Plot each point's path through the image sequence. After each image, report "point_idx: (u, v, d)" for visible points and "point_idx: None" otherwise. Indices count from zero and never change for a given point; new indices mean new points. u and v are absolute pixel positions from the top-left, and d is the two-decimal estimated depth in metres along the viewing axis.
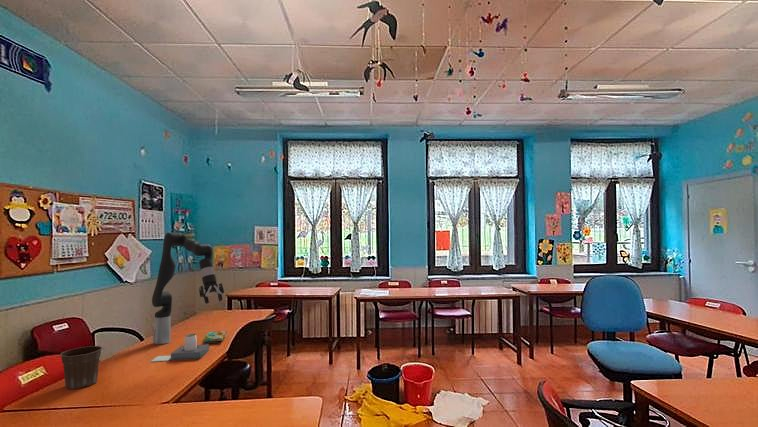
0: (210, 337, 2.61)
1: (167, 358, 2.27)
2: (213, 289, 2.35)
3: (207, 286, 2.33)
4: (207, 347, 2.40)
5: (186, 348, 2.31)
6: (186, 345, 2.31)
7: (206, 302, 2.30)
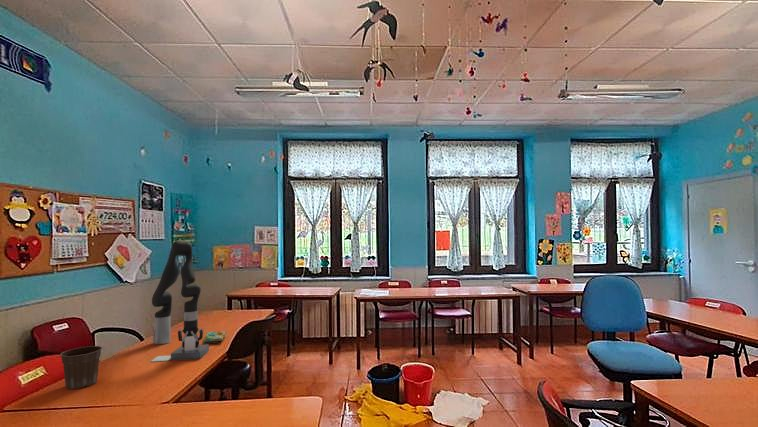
0: (210, 337, 2.61)
1: (167, 358, 2.27)
2: (190, 334, 2.33)
3: (185, 331, 2.33)
4: (207, 347, 2.40)
5: (186, 348, 2.31)
6: (186, 345, 2.31)
7: (183, 346, 2.34)
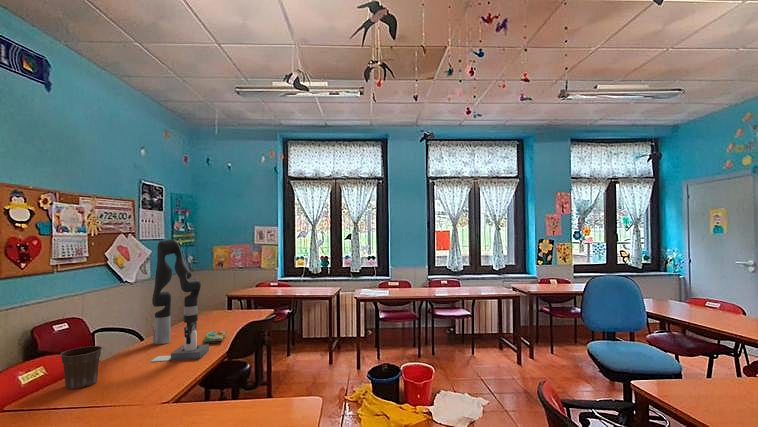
0: (210, 337, 2.61)
1: (167, 358, 2.27)
2: (192, 328, 2.35)
3: (190, 326, 2.32)
4: (207, 347, 2.40)
5: (194, 341, 2.33)
6: (194, 339, 2.33)
7: (188, 343, 2.30)
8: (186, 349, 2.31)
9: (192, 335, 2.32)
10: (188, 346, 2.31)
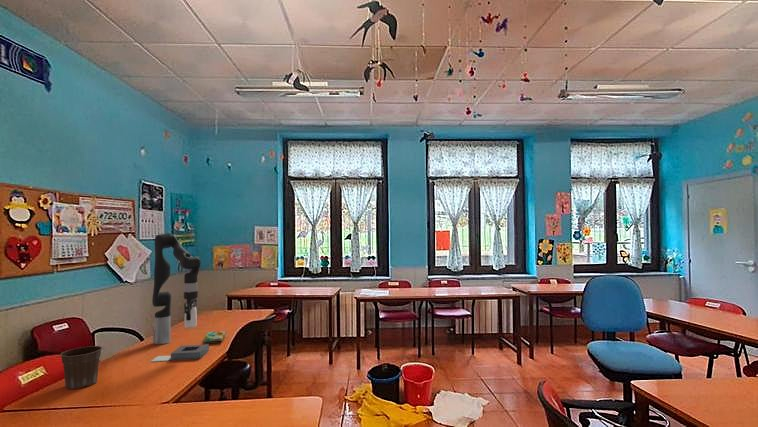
0: (210, 337, 2.60)
1: (167, 358, 2.27)
2: (192, 305, 2.36)
3: (191, 302, 2.33)
4: (207, 347, 2.40)
5: (194, 318, 2.34)
6: (194, 315, 2.34)
7: (188, 319, 2.31)
8: (186, 325, 2.32)
9: (192, 312, 2.33)
10: (188, 322, 2.31)
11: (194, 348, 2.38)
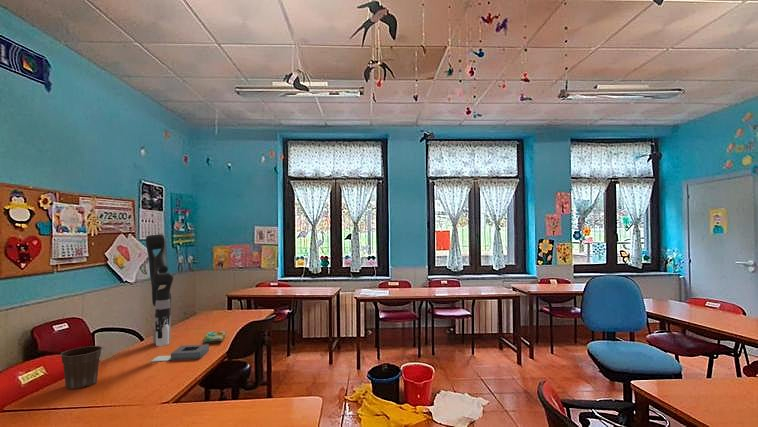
0: (210, 337, 2.60)
1: (167, 358, 2.27)
2: (164, 322, 2.30)
3: (162, 320, 2.27)
4: (207, 347, 2.40)
5: (166, 336, 2.28)
6: (166, 333, 2.28)
7: None
8: (157, 344, 2.25)
9: (164, 329, 2.27)
10: (159, 341, 2.25)
11: (194, 348, 2.38)
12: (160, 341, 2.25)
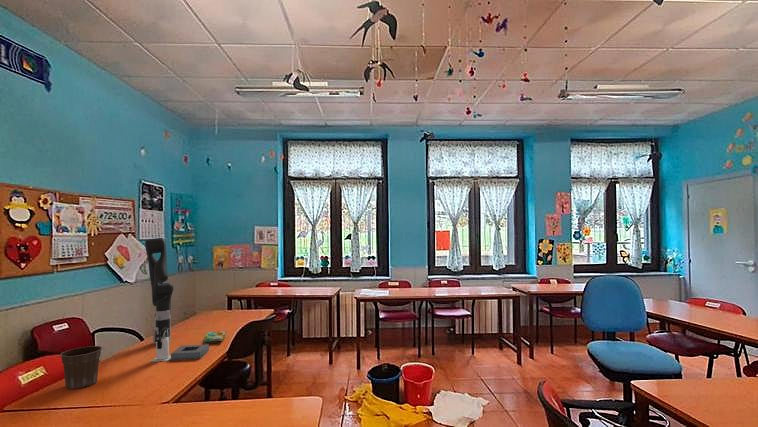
0: (210, 337, 2.60)
1: (167, 358, 2.27)
2: (165, 333, 2.30)
3: (162, 330, 2.26)
4: (207, 347, 2.40)
5: (166, 349, 2.27)
6: (166, 346, 2.27)
7: (159, 347, 2.24)
8: (157, 357, 2.25)
9: (164, 343, 2.26)
10: (159, 354, 2.25)
11: (194, 348, 2.38)
12: (160, 354, 2.25)
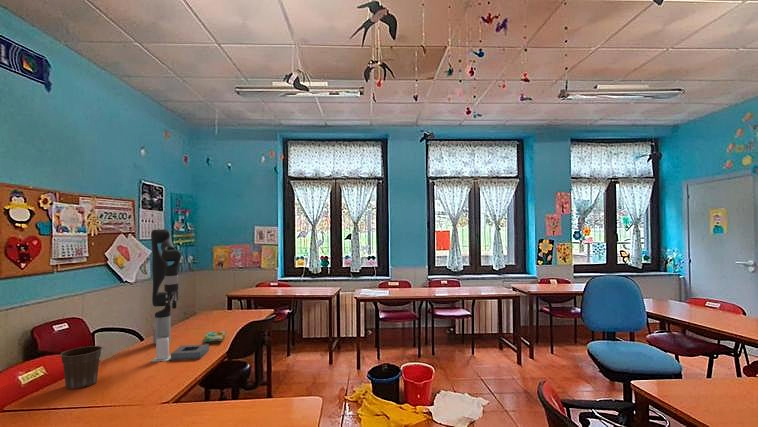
0: (210, 337, 2.60)
1: (167, 358, 2.27)
2: (173, 297, 2.39)
3: (171, 294, 2.36)
4: (207, 347, 2.40)
5: (166, 349, 2.27)
6: (166, 346, 2.27)
7: (168, 310, 2.33)
8: (157, 357, 2.25)
9: (164, 343, 2.26)
10: (160, 354, 2.25)
11: (194, 348, 2.38)
12: (160, 354, 2.25)
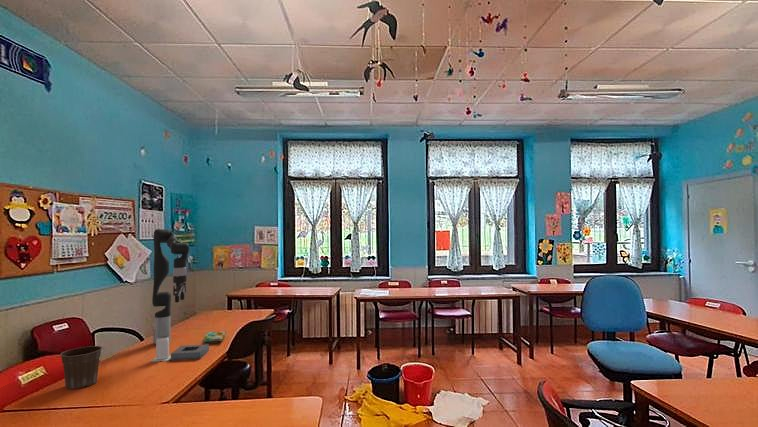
0: (210, 337, 2.60)
1: (167, 358, 2.27)
2: (182, 289, 2.48)
3: (179, 286, 2.45)
4: (207, 347, 2.40)
5: (166, 349, 2.27)
6: (166, 346, 2.27)
7: (176, 301, 2.42)
8: (157, 357, 2.25)
9: (164, 343, 2.26)
10: (160, 354, 2.25)
11: (194, 348, 2.38)
12: (160, 354, 2.25)
